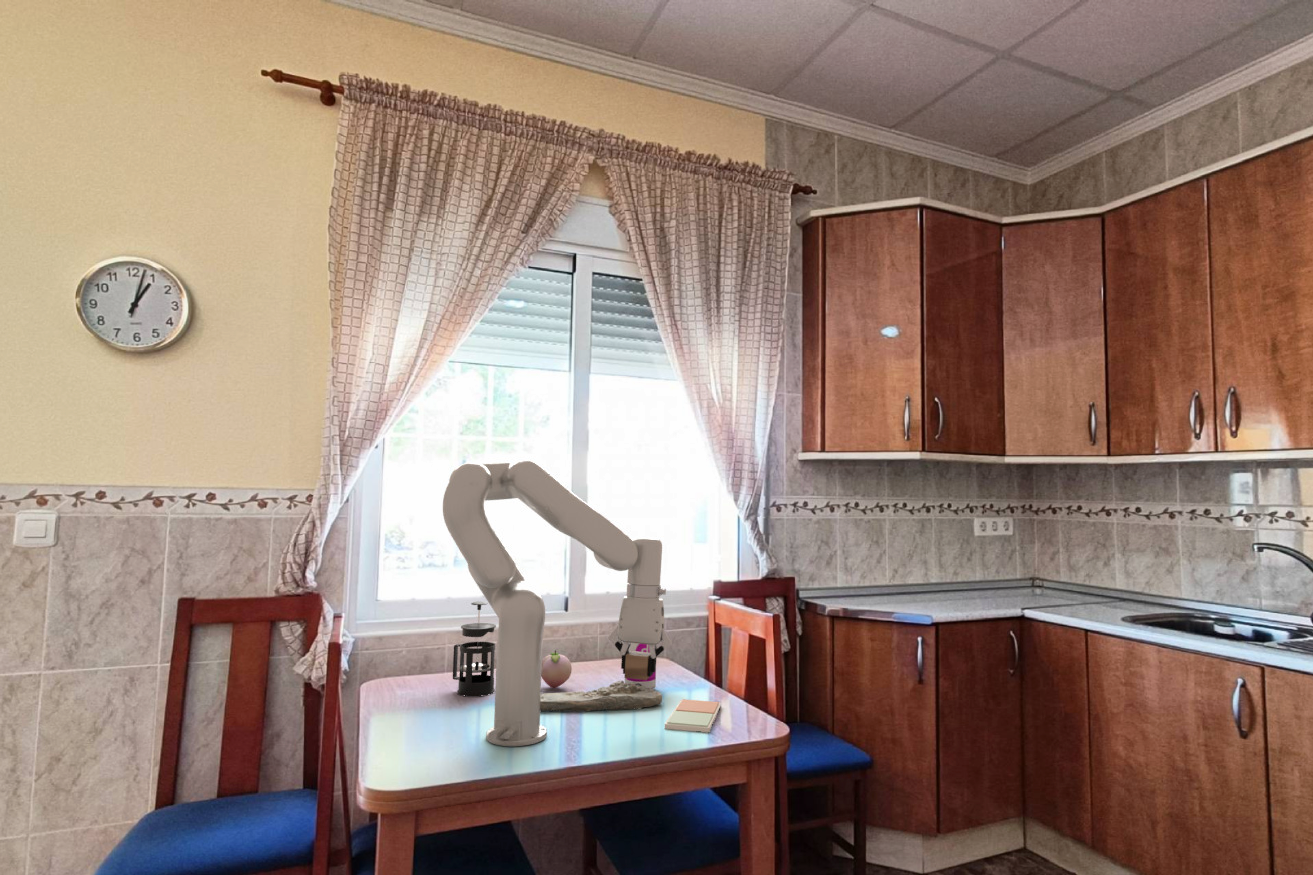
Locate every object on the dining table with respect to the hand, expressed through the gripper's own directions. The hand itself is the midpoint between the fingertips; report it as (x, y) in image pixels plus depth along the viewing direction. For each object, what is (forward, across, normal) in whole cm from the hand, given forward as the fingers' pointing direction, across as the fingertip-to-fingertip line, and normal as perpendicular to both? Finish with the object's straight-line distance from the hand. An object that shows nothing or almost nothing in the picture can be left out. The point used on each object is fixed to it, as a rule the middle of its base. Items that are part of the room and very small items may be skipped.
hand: (638, 672), depth 160 cm
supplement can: (+11, +6, -30) cm, 32 cm away
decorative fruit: (+12, +28, -25) cm, 39 cm away
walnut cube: (+1, 0, 0) cm, 1 cm away
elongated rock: (+12, +14, -12) cm, 22 cm away
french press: (+13, +47, -16) cm, 52 cm away
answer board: (+11, -12, -10) cm, 19 cm away
